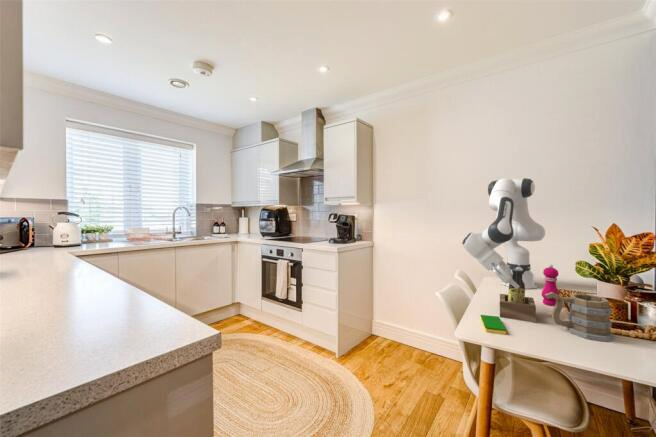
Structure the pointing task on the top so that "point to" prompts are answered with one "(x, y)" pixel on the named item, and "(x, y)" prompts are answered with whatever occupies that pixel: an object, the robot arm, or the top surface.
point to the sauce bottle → (519, 293)
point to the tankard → (585, 316)
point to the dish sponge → (493, 324)
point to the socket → (518, 309)
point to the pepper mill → (550, 285)
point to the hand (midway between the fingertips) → (517, 284)
